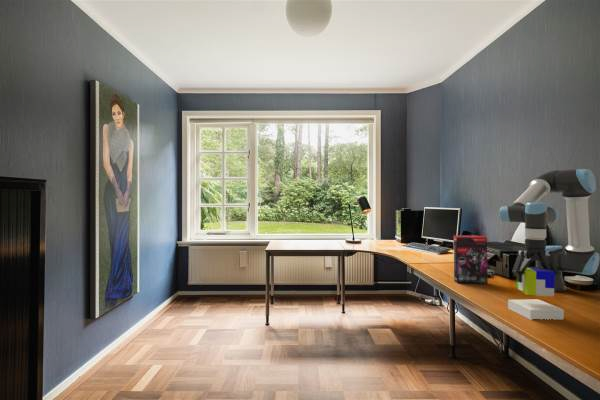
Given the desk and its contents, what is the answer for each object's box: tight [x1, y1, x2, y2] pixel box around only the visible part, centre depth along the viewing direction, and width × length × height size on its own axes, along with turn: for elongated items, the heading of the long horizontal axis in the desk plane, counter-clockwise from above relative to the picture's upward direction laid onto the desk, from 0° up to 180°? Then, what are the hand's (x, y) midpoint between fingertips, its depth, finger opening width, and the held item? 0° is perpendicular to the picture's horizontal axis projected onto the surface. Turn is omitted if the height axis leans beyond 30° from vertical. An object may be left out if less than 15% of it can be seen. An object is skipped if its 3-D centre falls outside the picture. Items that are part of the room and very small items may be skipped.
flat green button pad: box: [487, 268, 495, 277], centre depth 221 cm, size 18×18×5 cm
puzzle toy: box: [516, 266, 555, 297], centre depth 145 cm, size 10×10×10 cm
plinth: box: [507, 298, 565, 321], centre depth 145 cm, size 14×14×4 cm
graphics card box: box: [453, 235, 489, 285], centre depth 198 cm, size 17×7×27 cm, turn 83°
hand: (534, 289), depth 145 cm, fingers closed on puzzle toy, 11 cm apart
